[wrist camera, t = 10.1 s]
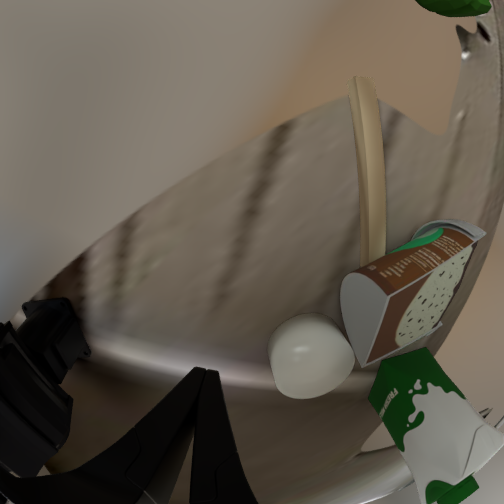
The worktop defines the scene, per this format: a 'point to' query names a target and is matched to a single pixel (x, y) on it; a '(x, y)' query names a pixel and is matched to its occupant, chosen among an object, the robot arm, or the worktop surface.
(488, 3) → the bell pepper
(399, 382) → the milk carton
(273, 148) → the worktop surface
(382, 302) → the food container
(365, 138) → the oak strip
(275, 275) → the worktop surface
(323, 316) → the white domed puck
